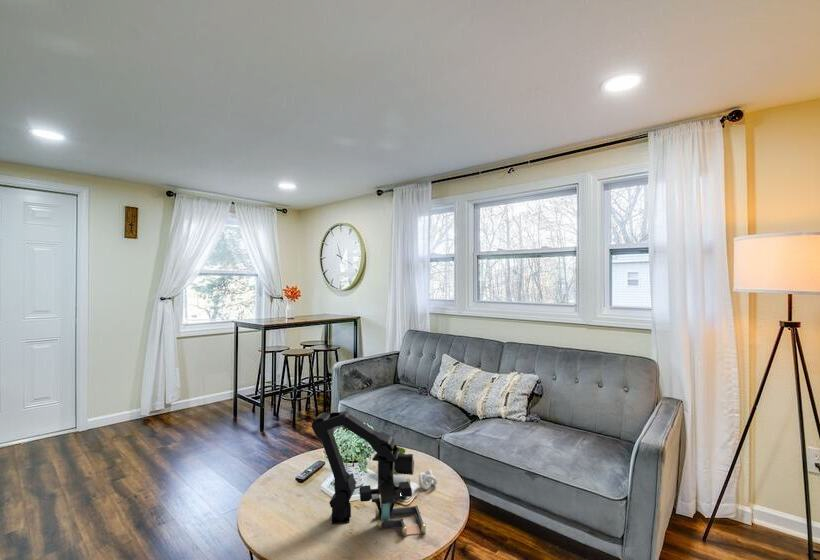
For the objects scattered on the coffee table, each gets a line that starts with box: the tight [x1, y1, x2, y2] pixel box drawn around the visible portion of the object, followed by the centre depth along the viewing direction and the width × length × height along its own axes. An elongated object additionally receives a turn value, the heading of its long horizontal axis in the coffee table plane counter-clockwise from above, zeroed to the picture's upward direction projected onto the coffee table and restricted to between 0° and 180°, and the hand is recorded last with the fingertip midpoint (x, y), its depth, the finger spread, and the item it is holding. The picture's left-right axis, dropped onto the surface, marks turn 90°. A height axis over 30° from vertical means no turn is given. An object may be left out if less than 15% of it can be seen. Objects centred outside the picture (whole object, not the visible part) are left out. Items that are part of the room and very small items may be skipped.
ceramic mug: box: [393, 473, 411, 493], centre depth 162 cm, size 11×8×8 cm
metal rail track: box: [374, 505, 427, 538], centre depth 140 cm, size 16×14×3 cm
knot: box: [418, 469, 438, 491], centre depth 167 cm, size 8×8×6 cm
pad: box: [404, 523, 422, 536], centre depth 138 cm, size 5×5×1 cm
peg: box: [380, 502, 391, 521], centre depth 142 cm, size 3×3×7 cm
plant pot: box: [392, 446, 407, 473], centre depth 181 cm, size 9×9×9 cm
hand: (385, 514), depth 142 cm, fingers closed on peg, 3 cm apart
